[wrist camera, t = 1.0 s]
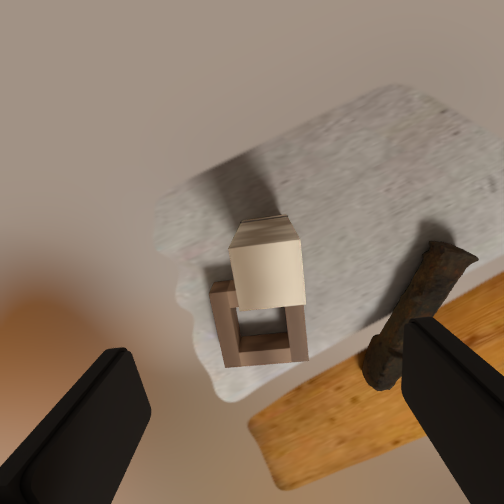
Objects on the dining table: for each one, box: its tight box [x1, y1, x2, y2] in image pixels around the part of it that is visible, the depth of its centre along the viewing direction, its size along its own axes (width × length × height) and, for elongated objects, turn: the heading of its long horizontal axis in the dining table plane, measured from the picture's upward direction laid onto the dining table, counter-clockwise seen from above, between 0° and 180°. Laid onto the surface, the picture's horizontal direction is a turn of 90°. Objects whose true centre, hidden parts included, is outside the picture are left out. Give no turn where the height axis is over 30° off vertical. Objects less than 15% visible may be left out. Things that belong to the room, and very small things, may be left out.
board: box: [209, 280, 309, 368], centre depth 29 cm, size 10×10×3 cm
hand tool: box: [362, 241, 479, 391], centre depth 27 cm, size 19×4×5 cm, turn 158°
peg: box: [228, 214, 306, 311], centre depth 21 cm, size 5×5×12 cm
